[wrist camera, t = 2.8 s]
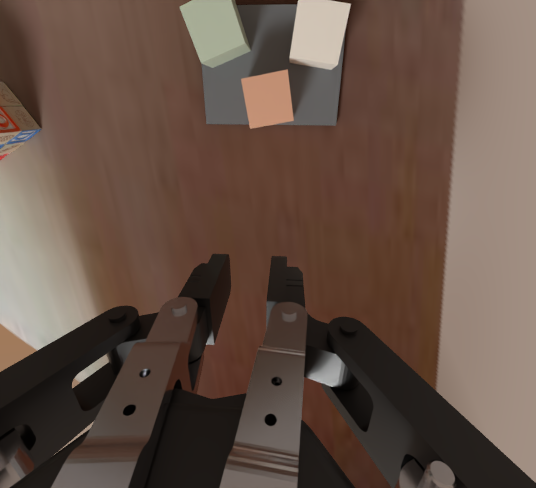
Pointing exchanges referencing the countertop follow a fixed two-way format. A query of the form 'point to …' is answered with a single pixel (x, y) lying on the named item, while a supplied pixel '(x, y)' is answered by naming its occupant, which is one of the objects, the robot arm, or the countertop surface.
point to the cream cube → (318, 33)
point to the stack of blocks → (13, 122)
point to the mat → (267, 61)
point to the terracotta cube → (268, 99)
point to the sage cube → (215, 30)
